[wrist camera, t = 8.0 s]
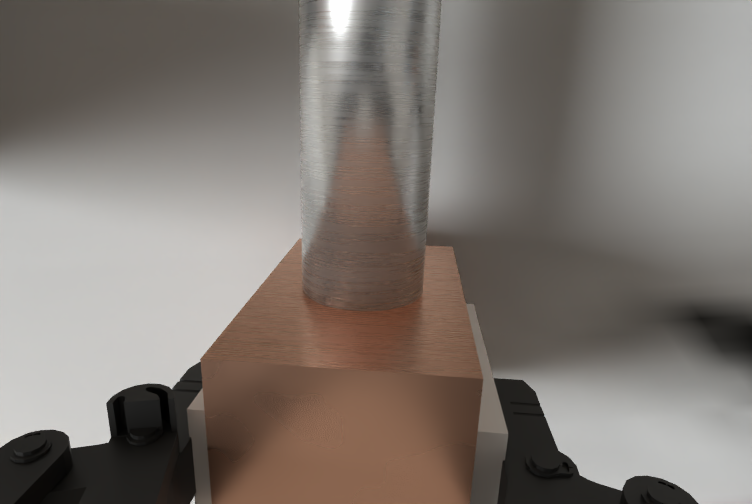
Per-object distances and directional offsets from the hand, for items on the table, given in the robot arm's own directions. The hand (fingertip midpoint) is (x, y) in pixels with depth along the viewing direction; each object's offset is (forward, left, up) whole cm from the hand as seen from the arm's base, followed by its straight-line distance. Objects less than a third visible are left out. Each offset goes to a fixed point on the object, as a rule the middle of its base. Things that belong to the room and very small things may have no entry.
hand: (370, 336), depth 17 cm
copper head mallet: (+6, -6, -1) cm, 8 cm away
